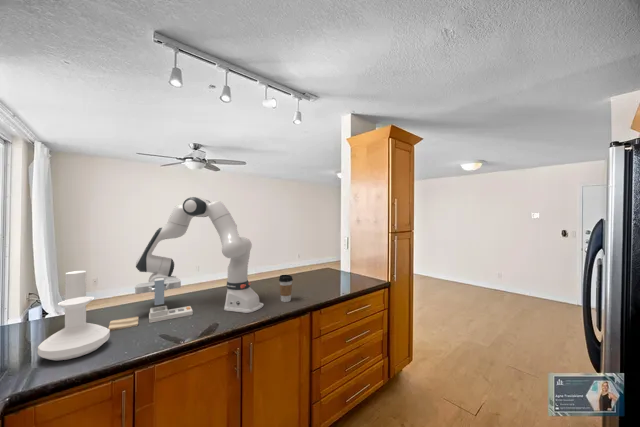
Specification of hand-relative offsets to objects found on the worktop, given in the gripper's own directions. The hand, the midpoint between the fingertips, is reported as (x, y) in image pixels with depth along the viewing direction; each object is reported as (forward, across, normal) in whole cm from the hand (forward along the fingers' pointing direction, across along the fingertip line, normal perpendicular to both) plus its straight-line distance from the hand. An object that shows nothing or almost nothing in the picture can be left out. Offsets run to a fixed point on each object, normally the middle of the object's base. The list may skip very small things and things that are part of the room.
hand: (159, 289), depth 131 cm
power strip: (-1, +5, +15) cm, 16 cm away
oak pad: (-1, -14, +14) cm, 20 cm away
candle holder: (+19, -28, +15) cm, 37 cm away
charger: (-1, 0, +7) cm, 7 cm away
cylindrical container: (-12, -33, +14) cm, 38 cm away
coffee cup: (+9, +66, +16) cm, 68 cm away
